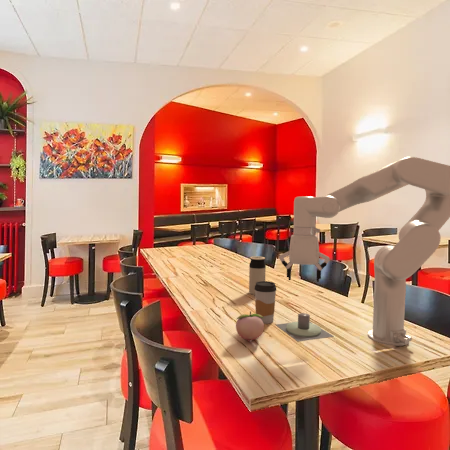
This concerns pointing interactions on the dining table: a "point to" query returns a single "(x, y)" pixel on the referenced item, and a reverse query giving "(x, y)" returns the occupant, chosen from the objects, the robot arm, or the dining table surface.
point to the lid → (303, 327)
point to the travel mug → (256, 272)
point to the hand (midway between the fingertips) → (303, 280)
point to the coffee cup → (265, 300)
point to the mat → (300, 338)
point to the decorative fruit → (249, 326)
